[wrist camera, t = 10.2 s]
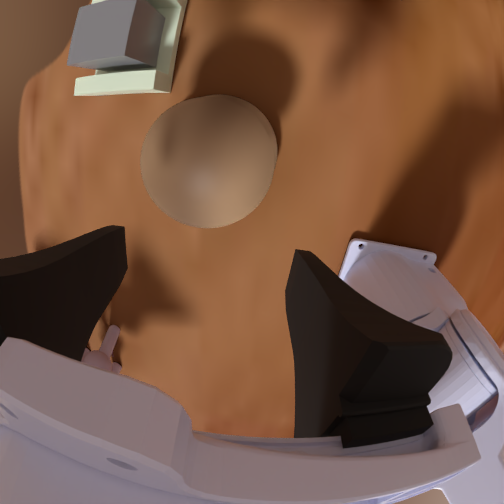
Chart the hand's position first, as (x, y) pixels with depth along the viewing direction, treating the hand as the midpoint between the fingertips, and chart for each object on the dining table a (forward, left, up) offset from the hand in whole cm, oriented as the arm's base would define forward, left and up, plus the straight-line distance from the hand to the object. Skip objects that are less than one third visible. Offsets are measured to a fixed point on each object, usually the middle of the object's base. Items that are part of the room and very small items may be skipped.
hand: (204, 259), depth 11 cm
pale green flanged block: (+8, -11, -10) cm, 17 cm away
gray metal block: (+8, -11, -9) cm, 16 cm away
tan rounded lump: (+1, -3, -10) cm, 10 cm away
